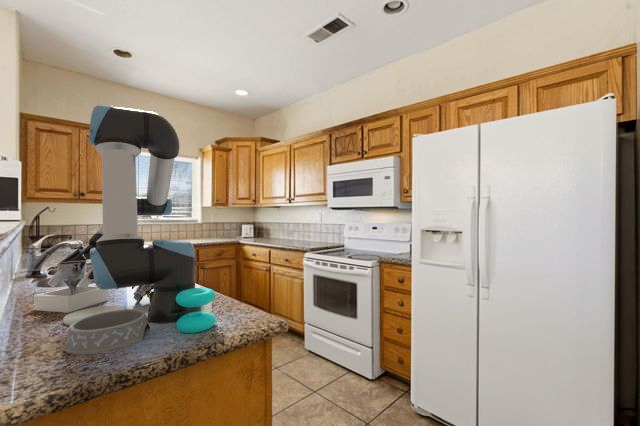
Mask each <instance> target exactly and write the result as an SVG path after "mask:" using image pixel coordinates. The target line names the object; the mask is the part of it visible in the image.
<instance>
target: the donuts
mask: <svg viewBox="0 0 640 426" xmlns="http://www.w3.org/2000/svg"><path fill="white" fill-rule="evenodd" d="M215 297H216V293H215V291H214V290H213V289H211V288H208V287H199V288H198V287H197V288H196V287H195V288H194V289H188V290H184V291H182V292H180V293H179V294H178V295H177V296H176V302H177V303H178V304H179V305H181V306H183V307H199V306H202V307H203V306H206V305H208V304H210V303H212V302H213V300H214V299H215ZM215 324H216V316H215V315H214V314H213V313H211V312H209V311H203V310H202V311H198V312H192V313H188V314H186V315H184V316H182V317H181V318H180V319H179V320H178V321H177V322H176V324H175V325H176V326H175V327H176V329H177V331H180V332H182V333H186V334H193V333H194V334H195V333H202V332H205V331H207V330H209V329H211V328H212V327H213V326H214V325H215Z"/></svg>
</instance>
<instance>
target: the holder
mask: <svg viewBox="0 0 640 426" xmlns="http://www.w3.org/2000/svg"><path fill="white" fill-rule="evenodd" d="M33 297H34V302H33V303H34V311H42V312H53V313H55V312H56V313H68V314H70V313H73V312H76V311H79V310H83V309H86V308H87V307H88V308H89V307H92V306H95V305H98V304H101V303H103V302H107V301H109V289H106V290H102V289H99V288H98V287H97V286H96V285H88V286H87V287H86V289H83V288H82V287H81V286H79V285H77V286H76V288H75V294H74V295H71V290H70V288H69V287H68V286H67V287H65V288H64V287H63V288H59V289H56V290H51V291H46V292H42V293H38V294H34V295H33Z"/></svg>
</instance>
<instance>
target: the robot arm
mask: <svg viewBox="0 0 640 426" xmlns="http://www.w3.org/2000/svg"><path fill="white" fill-rule="evenodd" d="M90 116H91V117H90V122H89V132H88V141H89V143H90V144H91V145H94V147H95V148H94V149H95V151H96V152H97V153H99V155H100V156H101V188H102V190H101V194H102V198H101V199H102V201H101V202H102V225H101V226H100V227H99V228H98V229H97V230H96V231H95V233H94V234H93V235H92V237H91V238H89V239H88V245H87V246H86V247H83V246H82V245H81V246H79V247H78V248H76V250H75V251H74V252H72V253H71V254H69V255H68V256H67V257H65V258H64V259H62V260H61V261H60V262H59V263H61V262H68V261H86V262H87V260H90V263H91V268H90V269H89V270H88V271H87V272H86V273H85V276H84V278H83V279H82V280H81V281H80V282H79V284H78V285H79V286H81V287H82V288H83V289H86V287H87V286H90V283H92V281H93V280H94V282H95V286H97V287H98V288H99V289H102V290H106V289H108V290H118V289H124V288H132V287H133V286H135V287H138V286H141V285H148V284H154V289H153V291H154V293H153V296H152V300H151V303H150V302H149V307H148V309H147V313H146V316H147V320H148V322H150V323H155V324H171V323H172V324H173V323H177V321H178V320H179V319H180V318H181V317H182V316H184V315H186V314H188V313H192V312H198V311H203V310H202V309H203V308H202V307H203V306H199V307H183V306H181V305H179V304H178V303H177V302H176V296H177V295H178V294H179V293H180V292H182V291H184V290H188V289H194V288H196V267H195V266H196V260H195V259H196V254H195V253H196V252H195V245H194V244H193V243H192V242H190V241H185V240H178V239H177V240H176V239H153V240H152V242H151V243H152V244H145V238H144V237H143V236H141V235H140V234H139V228H138V227H139V224H138V220H139V219H138V216H139V217H142V216H143V217H144V216H148V217H149V216H153V217H154V216H160V217H161V216H169V215H171V214H172V212H173V201H172V198H171V197H169V193H170V187H171V181H172V175H173V168H174V163H175V159H176V158H177V157H178V156H179V153H180V148H181V147H180V139H179V136H178V134H177V132H176V130H175V128H174V127H173V125H172V124H171V123H170V121H168V120H167V119H166V118H165V117H164V116H162V115H160V114H159V113H156V112H154V111H150V110H149V111H147V110H140V109H133V108H127V107H126V108H125V107H120V106H119V107H118V106H115V105H103V104H98V105H96V106H94V107H93V109H92V112H91V115H90ZM142 149H144V150H145V149H146V150H147V151H148V153H149V154H150V156H149V158H150V159H149V167H148V178H147V190H146V196H138V195H137V194H138V193H137V191H138V190H137V166H136V165H137V163H136V158H137V157H138V156H139V155H141V154H142ZM56 266H57V267H58V263H57V264H56ZM60 282H61V279H60V277H59V274H58V270H57V271H56V272H55V273H54V274H53V275H52V277H51V278H50V279H49V280H48V281H47V284H48V285H49V286H51V287H52V288H56V286H57V285H58V284H59V283H60Z"/></svg>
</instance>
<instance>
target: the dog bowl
mask: <svg viewBox="0 0 640 426" xmlns="http://www.w3.org/2000/svg"><path fill="white" fill-rule="evenodd" d="M145 328H147V329H149V330H150V329H151V327H150V323H149V321H148V316H147V313H146V312H145V311H143V310H141V309H134V308H128V309H127V308H126V309H123V310H114V311H108V312H103V313H98V314H94V315H91V316H88V317H85V318H82V319H80V320H77V321H75V322H74V323H72V324H71V325H68V331H67V334H66V338H65V342H64V347H63V350H64V352H65V353H68V354H72V355H81V356H83V355H96V354H103V353H108V352H112V351H116V350H120V349H123V348H126V347H130V346H131V345H135V344H137V343H139V342H141V341H143V340H144V334H145Z"/></svg>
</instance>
